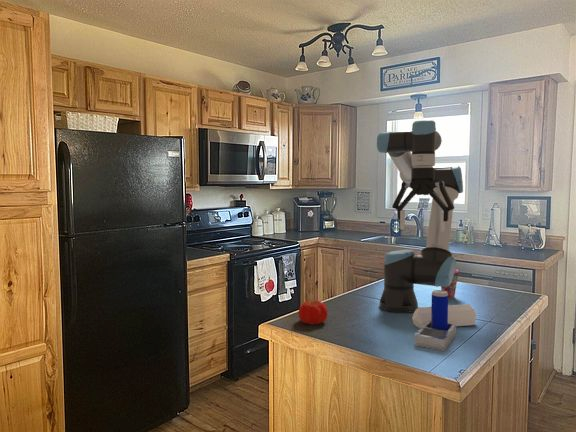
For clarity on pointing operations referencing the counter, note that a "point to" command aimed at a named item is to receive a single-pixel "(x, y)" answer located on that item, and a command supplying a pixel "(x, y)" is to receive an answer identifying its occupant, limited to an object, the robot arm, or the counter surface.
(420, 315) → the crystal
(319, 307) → the tomato
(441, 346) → the divided tray
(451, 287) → the cup
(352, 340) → the counter surface
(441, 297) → the beverage can
